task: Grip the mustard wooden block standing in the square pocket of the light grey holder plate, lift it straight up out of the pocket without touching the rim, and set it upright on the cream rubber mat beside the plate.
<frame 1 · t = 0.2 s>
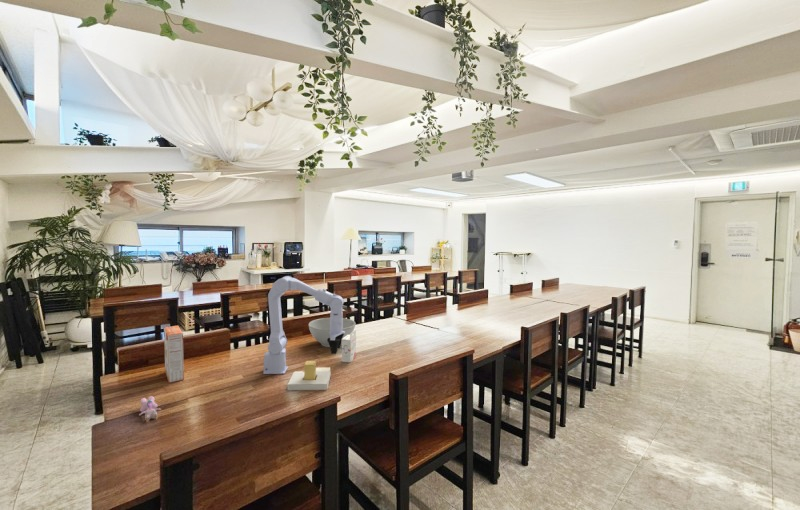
hand: (335, 350, 161), 10 cm above the table, fingers open, 7 cm apart
ink cartridge box: (348, 359, 178), on the table
holder: (310, 383, 149), on the table
decorative bowl: (331, 343, 202), on the table
block: (310, 372, 149), in the holder
pink toy figurine: (149, 413, 122), on the table
cracker box: (174, 376, 152), on the table
mat: (320, 371, 161), on the table
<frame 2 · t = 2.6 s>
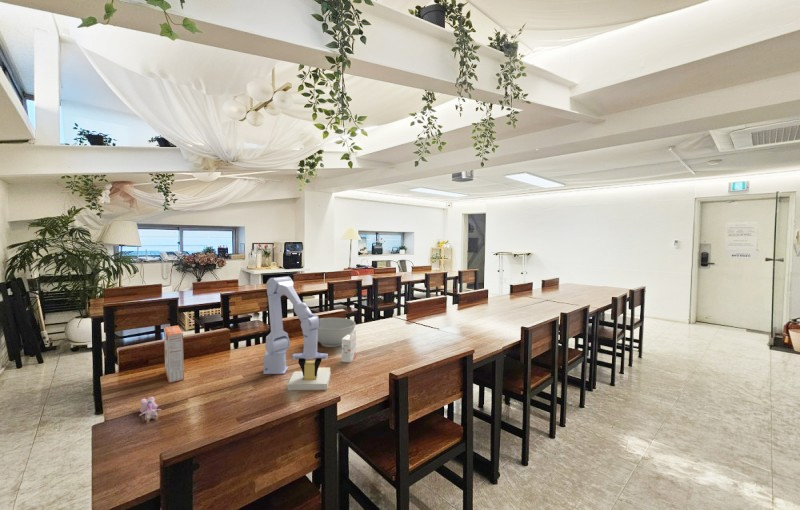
hand: (310, 375, 149), 3 cm above the table, fingers closed on block, 4 cm apart
block: (310, 372, 149), in the holder, touching gripper
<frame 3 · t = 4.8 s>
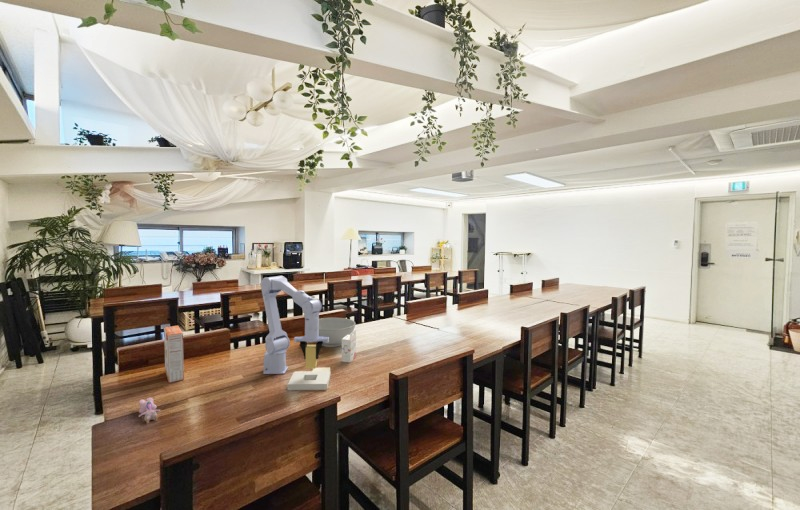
hand: (311, 358, 150), 10 cm above the table, fingers closed on block, 4 cm apart
block: (311, 356, 150), point 11 cm above the table, touching gripper
when the fingers open (5 cm above the table, at t = 7.3 s): block stays where it is, resting on mat.
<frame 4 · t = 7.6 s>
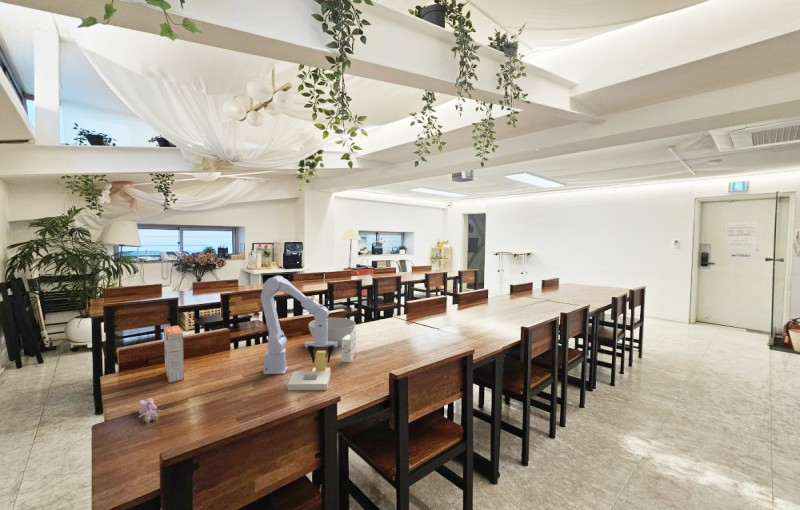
hand: (321, 361, 161), 5 cm above the table, fingers open, 6 cm apart
block: (320, 361, 161), on the mat
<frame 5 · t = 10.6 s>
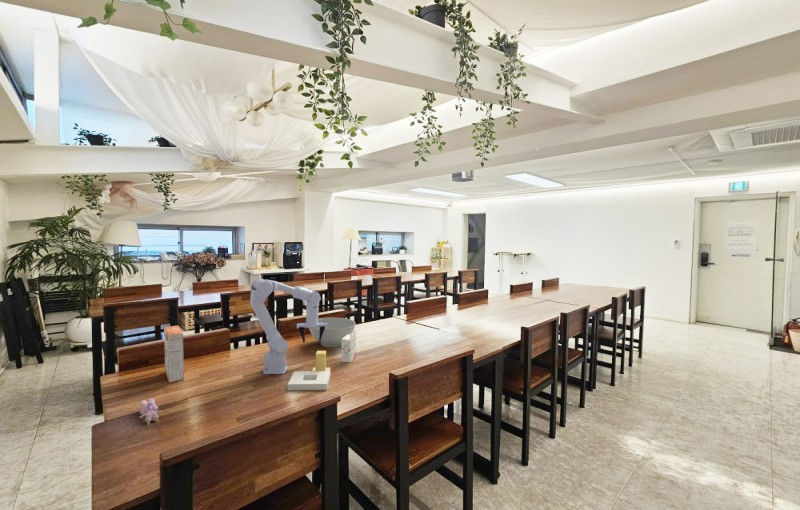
hand: (311, 342, 172), 10 cm above the table, fingers open, 7 cm apart
at the end: block 0.4 cm off-centre on the mat, point 4.9 cm above the mat's base; block tilted 0°; block touching mat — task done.
